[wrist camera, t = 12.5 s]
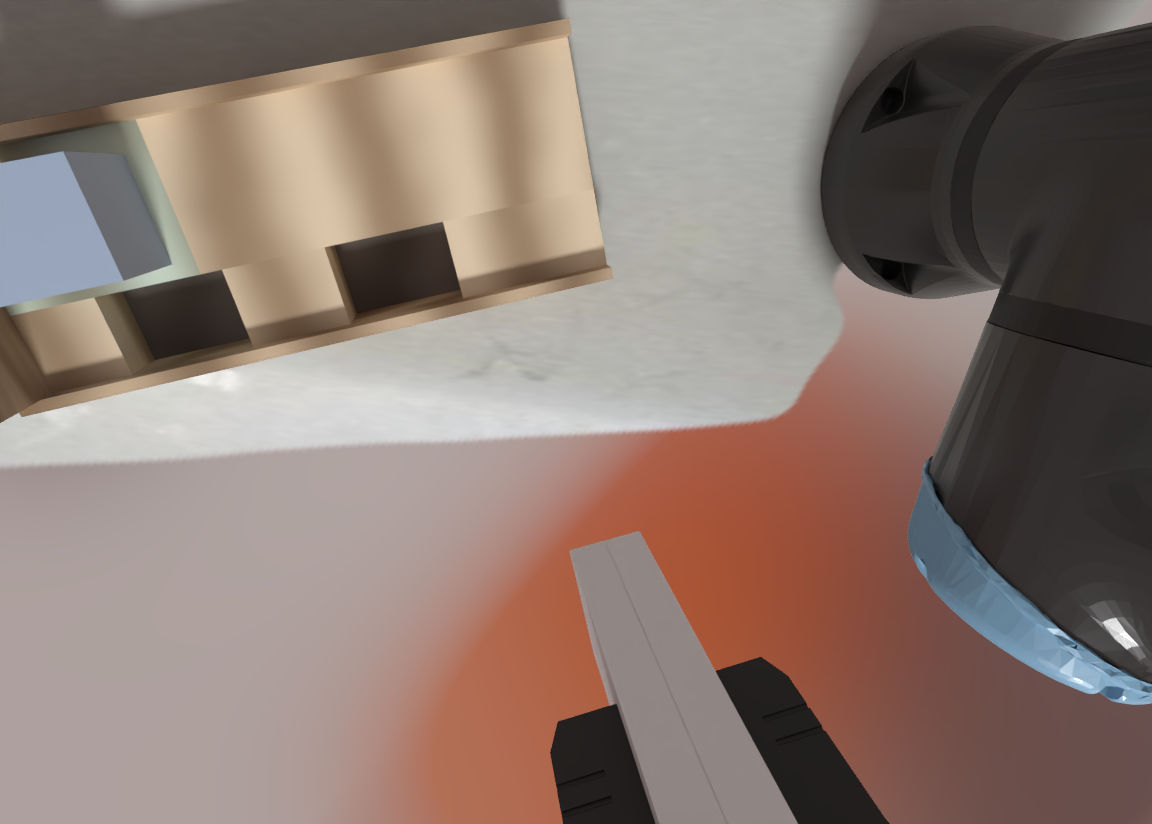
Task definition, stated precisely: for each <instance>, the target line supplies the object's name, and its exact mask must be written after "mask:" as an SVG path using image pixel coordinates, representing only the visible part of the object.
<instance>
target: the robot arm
mask: <svg viewBox="0 0 1152 824" xmlns="http://www.w3.org/2000/svg"><path fill="white" fill-rule="evenodd" d="M822 208H823V215H824V220H825V225H826V228H827V232H828V235H829V237H830V240H831V242H832V244H833V246H834V249H835V250H836V252H837V254H838V255H839V257H840V258H841V260H842V261H843V263H844V264H845V265H846V266H847V267H848V268H849V269H850V270H851V271H852V272H853V273H854V274H855V275H856V276H857V277H858V278H860V279H861V280H863V281H864V282H866V283H868V284H869V285H871V286H873V287H876V288H878V289H881V290H884V291H888V292H892V293H895V294H899V295H903V296H907V297H912V298H922V299H939V298H947V297H953V296H958V295H964V294H970V293H976V292H982V291H988V290H994V289H999V288H1000V291H999V294H998V297H997V299H996V302H995V304H994V307H993V309H992V312H991V314H990V317H989V319H988V321H987V322H986V325H985V327H984V330H983V333H982V335H981V338H980V340H979V343H978V345H977V348H976V350H975V353H974V356H973V358H972V361H971V363H970V366H969V368H968V371H967V373H966V376H965V379H964V381H963V384H962V387H961V389H960V391H959V394H958V397H957V399H956V402H955V404H954V407H953V409H952V411H951V414H950V416H949V419H948V421H947V423H946V426H945V428H944V431H943V433H942V436H941V438H940V440H939V443H938V445H937V448H936V450H935V452H934V455H933V456H932V457H931V458H930V459H928V460H926V462H925V464H924V466H923V469H922V481H923V482H922V485H921V488H920V491H919V494H918V497H917V500H916V503H915V506H914V509H913V512H912V516H911V518H910V522H909V526H908V542H909V548H910V551H911V554H912V557H913V559H914V561H915V563H916V564H917V566H918V569H919V571H920V572H921V573H922V574H923V575H924V577H925V578H926V579H927V580H928V582H929V584H930V586H931V587H932V589H933V590H934V591H935V592H936V594H937V595H938V596H939V597H940V598H941V599H942V600H943V601H944V602H945V603H946V604H947V605H948V606H949V607H950V608H951V609H952V610H953V611H954V612H955V613H956V614H957V615H959V616H960V617H961V618H962V619H963V620H964V621H966V622H967V623H968V624H969V625H970V626H971V627H973V628H974V629H975V630H976V631H978V632H979V633H980V634H982V635H983V636H984V637H986V638H987V639H989V640H990V641H991V642H993V643H994V644H995V645H997V646H998V647H1000V648H1002V649H1003V650H1005V651H1006V652H1008V653H1009V654H1011V655H1012V656H1014V657H1015V658H1017V659H1018V660H1020V661H1022V662H1024V663H1025V664H1027V665H1029V666H1030V667H1032V668H1034V669H1035V670H1037V671H1039V672H1041V673H1043V674H1045V675H1046V676H1049V677H1050V678H1052V679H1054V680H1056V681H1059V682H1061V683H1064V684H1066V685H1068V686H1070V687H1073V688H1075V689H1078V690H1080V691H1083V692H1085V693H1088V694H1094V693H1097V692H1100V693H1101V694H1103V695H1104V696H1105V697H1107V698H1109V699H1110V700H1111V701H1115V702H1120V703H1126V704H1134V705H1137V704H1149V703H1152V22H1151V23H1147V24H1142V25H1137V26H1133V27H1128V28H1124V29H1119V30H1115V31H1110V32H1106V33H1101V34H1097V35H1093V36H1089V37H1085V38H1080V39H1075V40H1070V41H1063V40H1058V39H1054V38H1049V37H1044V36H1039V35H1035V34H1030V33H1025V32H1021V31H1016V30H1011V29H1007V28H1002V27H995V26H975V27H965V28H959V29H955V30H951V31H948V32H944V33H940V34H937V35H933V36H930V37H926V38H924V39H921V40H918V41H916V42H914V43H911V44H909V45H907V46H906V47H904V48H902V49H900V50H899V51H897V52H896V53H894V54H893V55H891V56H890V57H889V58H887V59H886V60H885V61H883V62H882V63H881V64H880V65H879V66H878V67H877V68H876V69H875V70H874V71H872V72H871V73H870V74H869V76H868V77H867V78H866V79H865V80H864V81H863V82H862V84H861V85H860V86H859V87H858V89H857V90H856V91H855V93H854V94H853V96H852V97H851V99H850V100H849V102H848V103H847V105H846V107H845V108H844V110H843V112H842V114H841V116H840V118H839V120H838V122H837V124H836V127H835V129H834V132H833V134H832V137H831V140H830V143H829V146H828V150H827V154H826V158H825V163H824V168H823V176H822ZM570 555H571V559H572V563H573V567H574V572H575V575H576V580H577V585H578V588H579V593H580V597H581V601H582V606H583V610H584V614H585V618H586V622H587V627H588V631H589V635H590V640H591V644H592V648H593V652H594V655H595V659H596V662H597V665H598V668H599V671H600V675H601V678H602V681H603V684H604V688H605V691H606V694H607V697H608V701H609V704H610V706H607V707H604V708H601V709H598V710H594V711H591V712H588V713H585V714H582V715H578V716H575V717H572V718H568V719H565V720H562V721H559V722H558V723H557V728H556V731H555V736H554V740H553V744H552V748H551V752H550V753H551V759H552V765H553V770H554V776H555V781H556V786H557V792H558V798H559V803H560V809H561V814H562V818H563V819H562V820H563V824H889V822H888V821H887V820H886V819H885V818H884V816H883V815H882V813H881V812H880V810H879V809H878V808H877V806H876V804H875V803H874V801H873V800H872V799H871V797H870V796H869V794H868V793H867V791H866V790H865V788H864V787H863V785H862V784H861V782H860V781H859V779H858V778H857V777H856V775H855V774H854V772H853V771H852V769H851V768H850V766H849V765H848V763H847V762H846V760H845V759H844V757H843V756H842V755H841V753H840V752H839V750H838V749H837V747H836V746H835V744H834V743H833V741H832V740H831V738H830V737H829V735H828V734H827V732H826V731H824V730H823V729H822V726H821V724H820V722H819V721H818V719H817V718H816V716H815V715H814V713H813V712H812V710H811V709H810V708H808V707H807V704H806V702H805V700H804V699H803V697H802V696H801V694H800V693H799V691H798V690H797V689H796V687H795V686H794V684H793V683H792V681H791V680H790V678H789V677H788V676H787V675H786V674H784V673H783V672H782V671H780V670H779V669H777V668H776V667H774V666H773V665H772V664H770V663H769V662H767V661H766V660H765V659H763V658H762V657H759V658H756V659H753V660H749V661H746V662H743V663H740V664H737V665H733V666H730V667H727V668H723V669H721V670H717V671H715V670H714V668H713V666H712V664H711V662H710V661H709V659H708V657H707V655H706V653H705V651H704V649H703V648H702V646H701V644H700V642H699V640H698V638H697V636H696V635H695V633H694V631H693V629H692V627H691V625H690V624H689V622H688V620H687V618H686V616H685V614H684V613H683V611H682V609H681V607H680V605H679V603H678V601H677V600H676V598H675V596H674V594H673V592H672V590H671V589H670V587H669V585H668V583H667V581H666V579H665V578H664V576H663V574H662V572H661V570H660V568H659V566H658V565H657V563H656V561H655V559H654V558H653V555H652V554H651V552H650V550H649V548H648V546H647V544H646V542H645V541H644V539H643V537H642V535H641V533H640V531H638V532H634V533H630V534H627V535H623V536H619V537H616V538H612V539H609V540H605V541H602V542H598V543H594V544H591V545H587V546H584V547H580V548H577V549H573V550H570Z"/></svg>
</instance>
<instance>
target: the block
mask: <svg viewBox="0 0 1152 824" xmlns="http://www.w3.org/2000/svg"><path fill="white" fill-rule="evenodd" d="M169 265H172V263H171V261H170V259H169V256H168V254H167V252H166V249H165V247H164V245H163V242H162V240H161V238H160V236H159V233H158V231H157V229H156V226H155V224H154V222H153V219H152V217H151V215H150V213H149V210H148V208H147V206H146V203H145V201H144V199H143V196H142V194H141V192H140V190H139V187H138V185H137V183H136V180H135V178H134V176H133V173H132V171H131V169H130V167H129V164H128V162H127V160H126V157H125V155H121V154H103V153H85V152H67V151H62V152H57V153H51V154H46V155H41V156H36V157H30V158H25V159H20V160H15V161H9V162H4V163H0V307H4V306H9V305H13V304H18V303H23V302H27V301H32V300H37V299H41V298H46V297H51V296H55V295H60V294H65V293H70V292H74V291H79V290H84V289H88V288H93V287H98V286H102V285H107V284H112V283H116V282H121V281H125V280H128V279H131V278H134V277H137V276H140V275H143V274H146V273H149V272H152V271H155V270H158V269H160V268H163V267H166V266H169Z"/></svg>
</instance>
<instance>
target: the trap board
mask: <svg viewBox="0 0 1152 824" xmlns="http://www.w3.org/2000/svg"><path fill="white" fill-rule="evenodd" d="M570 34H571V27H570V21H569V18H567V19H562V20H557V21H551V22H546V23H541V24H535V25H530V26H525V27H519V28H514V29H509V30H503V31H498V32H493V33H487V34H482V35H477V36H471V37H466V38H461V39H455V40H450V41H445V42H439V43H434V44H428V45H423V46H418V47H412V48H407V49H402V50H396V51H391V52H386V53H380V54H375V55H370V56H364V57H359V58H354V59H348V60H343V61H338V62H332V63H327V64H322V65H316V66H311V67H305V68H300V69H295V70H289V71H284V72H279V73H273V74H268V75H263V76H257V77H252V78H247V79H241V80H236V81H231V82H225V83H220V84H215V85H209V86H204V87H199V88H193V89H188V90H183V91H177V92H172V93H166V94H161V95H156V96H150V97H145V98H140V99H134V100H129V101H124V102H118V103H113V104H108V105H102V106H97V107H92V108H86V109H81V110H76V111H70V112H65V113H60V114H54V115H49V116H44V117H38V118H33V119H27V120H22V121H17V122H11V123H6V124H1V125H0V163H4V162H9V161H15V160H20V159H25V158H30V157H36V156H41V155H46V154H51V153H57V152H62V151H67V152H85V153H103V154H121V155H125V157H126V160H127V162H128V164H129V167H130V169H131V171H132V173H133V176H134V178H135V180H136V183H137V185H138V187H139V190H140V192H141V194H142V196H143V199H144V201H145V203H146V206H147V208H148V210H149V213H150V215H151V217H152V219H153V222H154V224H155V226H156V229H157V231H158V233H159V236H160V238H161V240H162V242H163V245H164V247H165V249H166V252H167V254H168V256H169V259H170V261H171V263H172V265H169V266H166V267H163V268H160V269H158V270H155V271H152V272H149V273H146V274H143V275H140V276H137V277H134V278H131V279H128V280H125V281H121V282H116V283H112V284H107V285H102V286H98V287H93V288H88V289H84V290H79V291H74V292H70V293H65V294H60V295H55V296H51V297H46V298H41V299H37V300H32V301H27V302H23V303H18V304H13V305H9V306H4V307H0V423H1V422H3V421H4V420H6V419H8V418H10V417H12V416H13V415H15V414H17V413H20V415H21V417H24V416H28V415H32V414H37V413H41V412H45V411H50V410H54V409H58V408H62V407H67V406H71V405H75V404H79V403H84V402H88V401H92V400H96V399H101V398H105V397H109V396H113V395H118V394H122V393H126V392H131V391H135V390H139V389H143V388H148V387H152V386H156V385H160V384H165V383H169V382H173V381H177V380H182V379H186V378H190V377H195V376H199V375H203V374H207V373H212V372H216V371H220V370H224V369H229V368H233V367H237V366H241V365H246V364H250V363H254V362H259V361H263V360H267V359H271V358H276V357H280V356H284V355H288V354H293V353H297V352H301V351H305V350H310V349H314V348H318V347H323V346H327V345H331V344H335V343H340V342H344V341H348V340H352V339H357V338H361V337H365V336H369V335H374V334H378V333H382V332H386V331H391V330H395V329H399V328H404V327H408V326H412V325H416V324H421V323H425V322H429V321H433V320H438V319H442V318H446V317H450V316H455V315H459V314H463V313H468V312H472V311H476V310H480V309H485V308H489V307H493V306H497V305H502V304H506V303H510V302H514V301H519V300H523V299H527V298H532V297H536V296H540V295H544V294H549V293H553V292H557V291H561V290H566V289H570V288H574V287H578V286H583V285H587V284H591V283H595V282H600V281H604V280H608V279H613V275H612V269H611V267H610V266H608V265H607V263H606V258H605V252H604V246H603V240H602V234H601V229H600V223H599V217H598V211H597V205H596V199H595V194H594V188H593V182H592V176H591V170H590V164H589V159H588V153H587V147H586V141H585V135H584V130H583V124H582V118H581V112H580V106H579V100H578V95H577V89H576V83H575V77H574V71H573V66H572V60H571V54H570V48H569V42H568V36H569V35H570Z"/></svg>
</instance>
